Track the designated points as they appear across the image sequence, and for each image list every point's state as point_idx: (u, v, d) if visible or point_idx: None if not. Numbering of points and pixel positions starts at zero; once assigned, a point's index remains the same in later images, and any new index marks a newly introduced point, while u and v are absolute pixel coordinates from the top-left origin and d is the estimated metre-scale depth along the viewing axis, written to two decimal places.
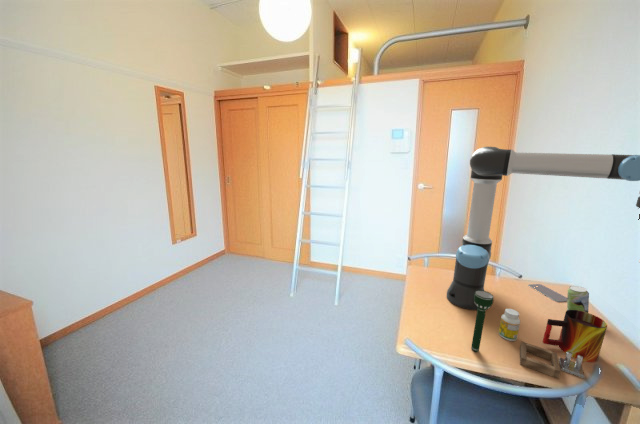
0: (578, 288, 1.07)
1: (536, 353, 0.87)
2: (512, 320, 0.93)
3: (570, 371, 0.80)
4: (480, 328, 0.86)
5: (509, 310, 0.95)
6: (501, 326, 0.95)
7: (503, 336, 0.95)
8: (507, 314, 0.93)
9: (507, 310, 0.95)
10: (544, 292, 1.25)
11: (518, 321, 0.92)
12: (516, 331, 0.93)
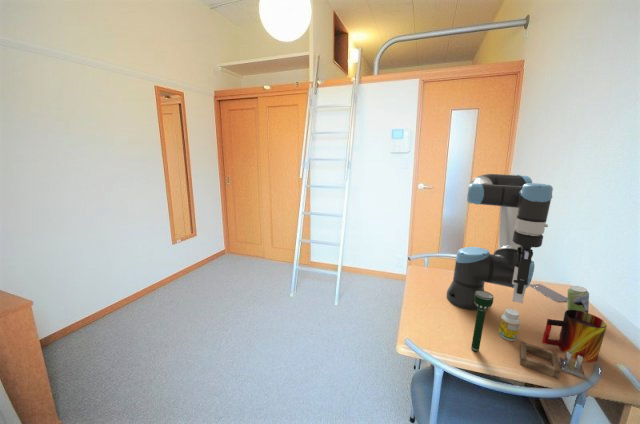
0: (578, 288, 1.07)
1: (536, 353, 0.87)
2: (512, 320, 0.93)
3: (570, 371, 0.80)
4: (480, 328, 0.86)
5: (509, 310, 0.95)
6: (501, 326, 0.95)
7: (503, 336, 0.95)
8: (507, 314, 0.93)
9: (507, 310, 0.95)
10: (544, 292, 1.25)
11: (518, 321, 0.92)
12: (516, 331, 0.93)
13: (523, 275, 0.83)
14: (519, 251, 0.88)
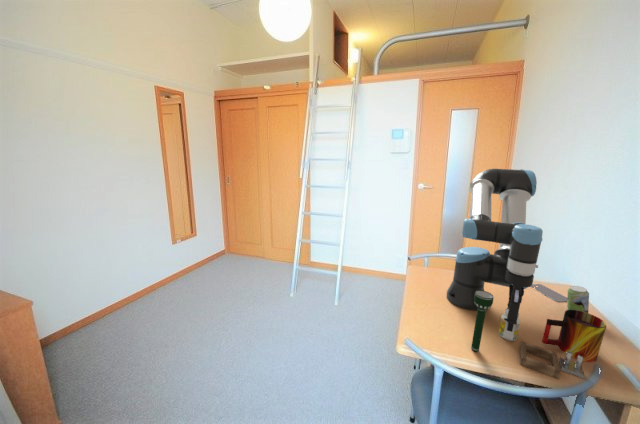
0: (578, 288, 1.07)
1: (536, 353, 0.87)
2: None
3: (570, 371, 0.80)
4: (480, 328, 0.86)
5: None
6: (501, 326, 0.95)
7: None
8: (507, 314, 0.93)
9: (507, 310, 0.95)
10: (544, 292, 1.25)
11: (518, 321, 0.92)
12: (516, 331, 0.93)
13: (513, 316, 0.88)
14: (510, 290, 0.91)
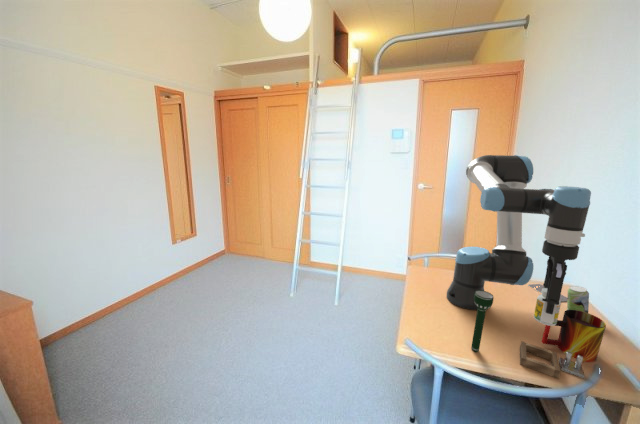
0: (578, 288, 1.07)
1: (536, 353, 0.87)
2: None
3: (570, 371, 0.80)
4: (480, 328, 0.86)
5: None
6: (538, 309, 0.81)
7: None
8: (545, 294, 0.79)
9: (545, 289, 0.80)
10: None
11: (559, 302, 0.78)
12: (556, 314, 0.78)
13: (554, 295, 0.74)
14: (550, 265, 0.77)
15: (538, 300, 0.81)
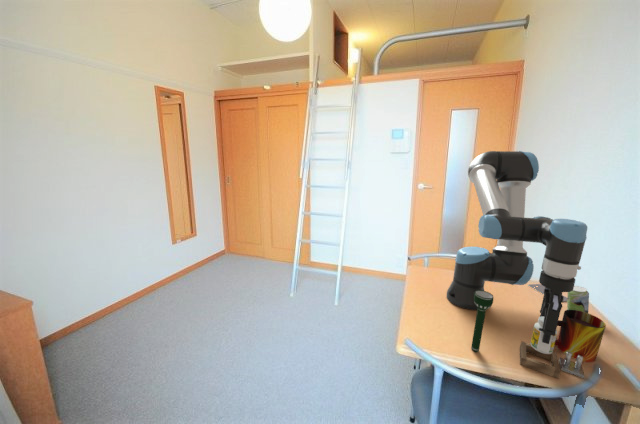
0: (578, 288, 1.07)
1: (536, 353, 0.87)
2: None
3: (570, 371, 0.80)
4: (480, 328, 0.86)
5: (543, 318, 0.82)
6: (534, 337, 0.82)
7: None
8: (542, 323, 0.81)
9: (541, 318, 0.82)
10: None
11: None
12: (552, 343, 0.80)
13: (551, 326, 0.76)
14: (547, 295, 0.79)
15: (535, 328, 0.82)
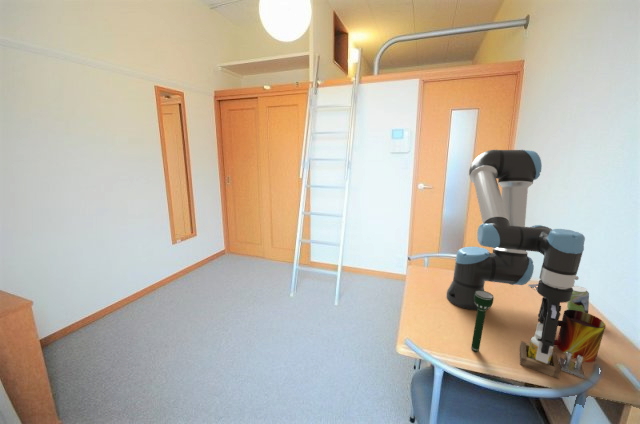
0: (578, 288, 1.07)
1: None
2: None
3: (570, 371, 0.80)
4: (480, 328, 0.86)
5: (540, 333, 0.83)
6: (531, 351, 0.84)
7: None
8: (538, 337, 0.82)
9: (538, 333, 0.83)
10: None
11: None
12: (549, 357, 0.81)
13: (549, 336, 0.75)
14: (545, 304, 0.79)
15: (532, 342, 0.84)
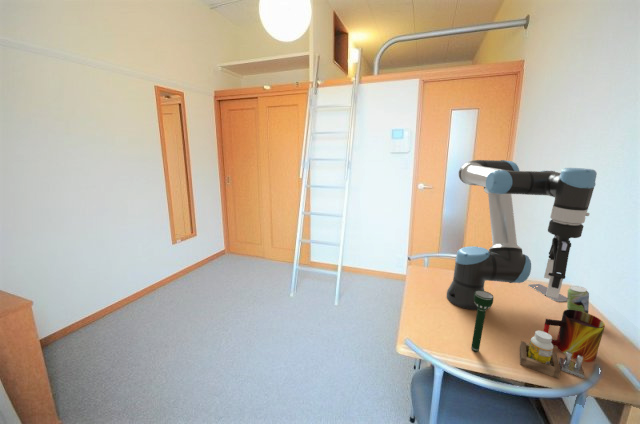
0: (578, 288, 1.07)
1: None
2: (544, 344, 0.81)
3: (570, 371, 0.80)
4: (480, 328, 0.86)
5: (540, 333, 0.83)
6: (531, 351, 0.84)
7: None
8: (538, 337, 0.82)
9: (538, 333, 0.83)
10: (544, 292, 1.25)
11: (551, 346, 0.81)
12: (549, 357, 0.81)
13: (560, 268, 0.76)
14: (555, 242, 0.81)
15: (531, 342, 0.84)
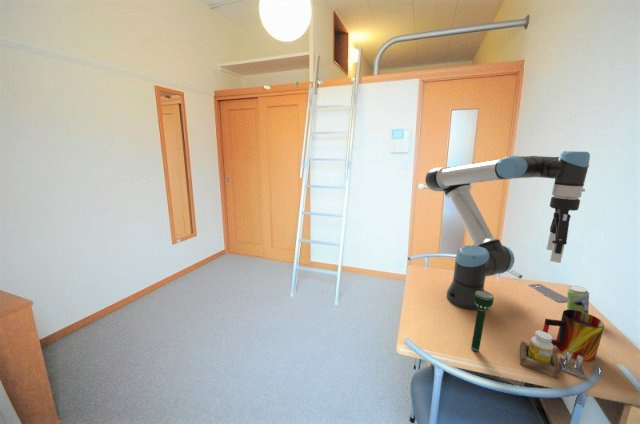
0: (578, 288, 1.07)
1: None
2: (544, 344, 0.81)
3: (570, 371, 0.80)
4: (480, 328, 0.86)
5: (540, 333, 0.83)
6: (531, 351, 0.84)
7: None
8: (538, 337, 0.82)
9: (538, 333, 0.83)
10: (544, 292, 1.25)
11: (551, 346, 0.81)
12: (549, 357, 0.81)
13: (562, 235, 0.89)
14: (556, 215, 0.95)
15: (531, 342, 0.84)
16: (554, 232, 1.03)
